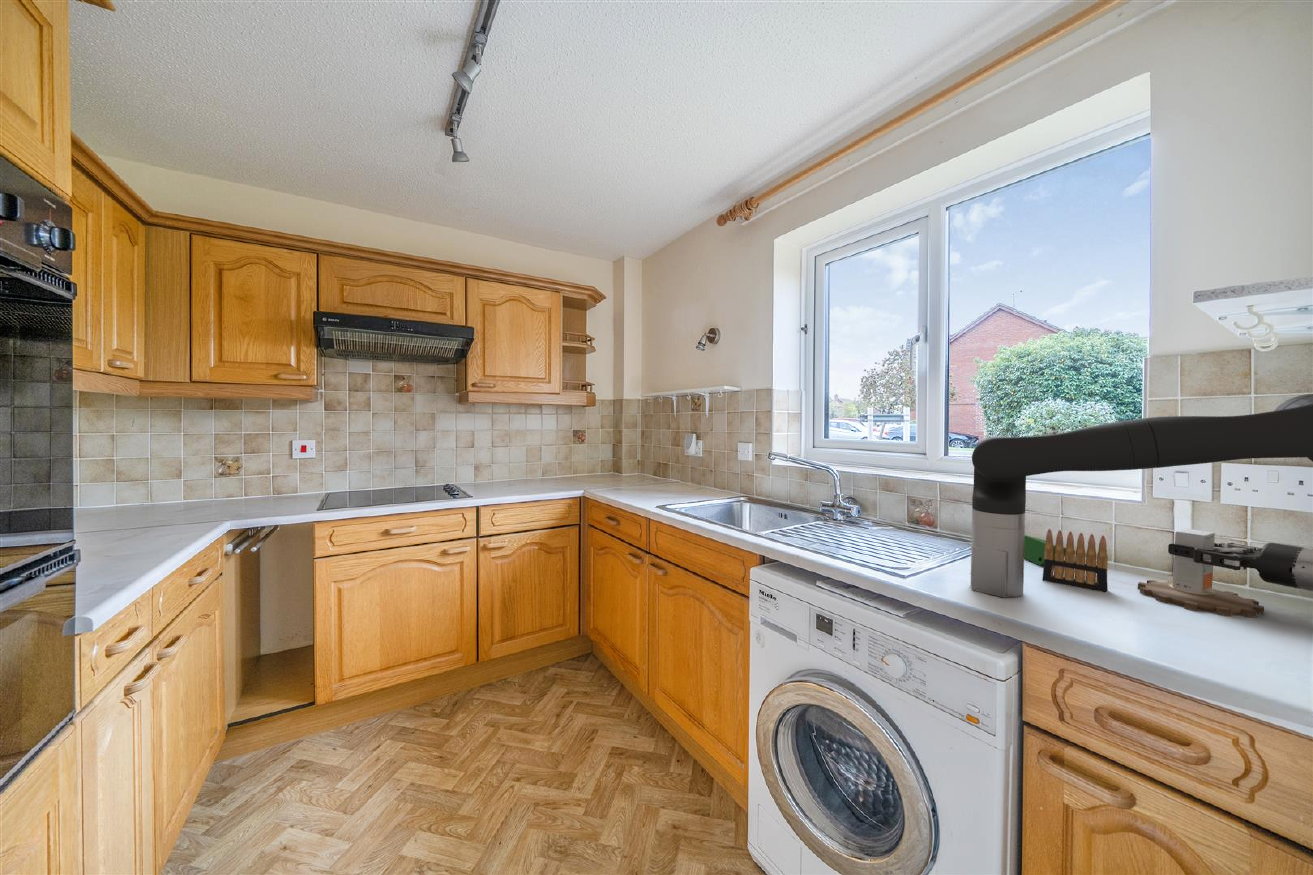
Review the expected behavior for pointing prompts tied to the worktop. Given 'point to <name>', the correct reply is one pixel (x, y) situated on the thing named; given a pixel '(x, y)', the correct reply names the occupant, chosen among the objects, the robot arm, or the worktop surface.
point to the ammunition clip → (1076, 562)
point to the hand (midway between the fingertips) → (1180, 546)
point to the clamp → (1035, 549)
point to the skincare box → (1191, 572)
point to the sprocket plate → (1202, 599)
